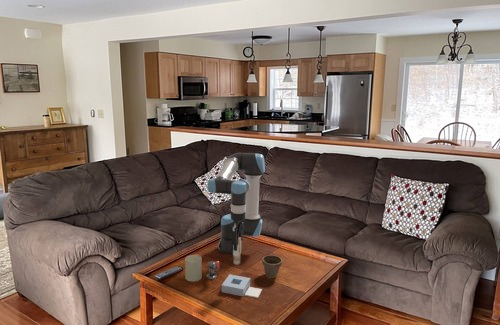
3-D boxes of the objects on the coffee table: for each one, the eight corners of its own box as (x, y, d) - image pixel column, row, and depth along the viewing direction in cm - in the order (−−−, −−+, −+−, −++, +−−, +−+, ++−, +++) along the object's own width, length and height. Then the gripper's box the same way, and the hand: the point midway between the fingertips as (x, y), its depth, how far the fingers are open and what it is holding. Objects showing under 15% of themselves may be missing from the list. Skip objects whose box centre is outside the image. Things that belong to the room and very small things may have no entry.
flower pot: (285, 278, 212) (286, 261, 210) (267, 282, 206) (268, 265, 204) (274, 269, 222) (275, 253, 220) (257, 272, 216) (258, 256, 214)
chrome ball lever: (213, 263, 212) (213, 254, 211) (221, 271, 204) (221, 261, 203) (206, 265, 210) (206, 255, 209) (214, 273, 202) (214, 263, 200)
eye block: (229, 280, 207) (229, 274, 206) (250, 284, 203) (250, 278, 203) (221, 292, 195) (221, 285, 195) (243, 296, 192) (243, 289, 191)
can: (193, 283, 203) (193, 263, 201) (181, 277, 208) (181, 257, 206) (205, 276, 210) (205, 257, 208) (193, 271, 216) (193, 252, 213)
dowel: (234, 260, 199) (235, 236, 196) (241, 261, 198) (241, 237, 195) (232, 263, 195) (233, 238, 192) (238, 264, 194) (239, 239, 191)
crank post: (209, 273, 214) (209, 263, 213) (218, 274, 213) (218, 265, 211) (204, 278, 209) (204, 268, 208) (214, 280, 207) (214, 270, 206)
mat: (249, 287, 200) (249, 286, 200) (261, 290, 198) (261, 289, 198) (244, 295, 193) (244, 294, 193) (257, 298, 191) (257, 297, 191)
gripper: (236, 205, 199) (235, 246, 204) (225, 215, 184) (224, 259, 189) (249, 207, 197) (248, 248, 202) (239, 217, 182) (238, 262, 187)
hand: (237, 253), depth 195 cm, fingers closed on dowel, 3 cm apart
